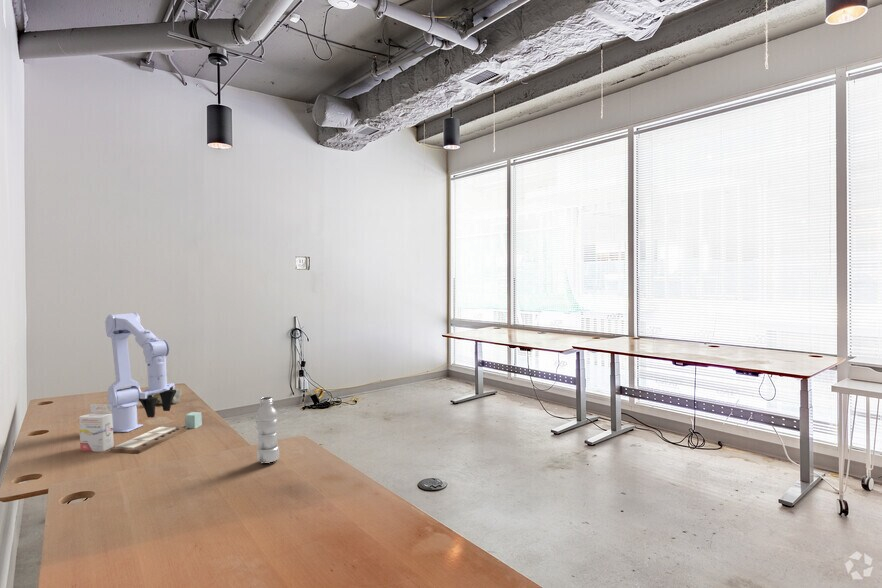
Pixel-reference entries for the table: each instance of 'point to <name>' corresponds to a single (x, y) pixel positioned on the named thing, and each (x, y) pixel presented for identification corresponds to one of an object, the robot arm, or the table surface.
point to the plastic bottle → (267, 431)
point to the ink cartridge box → (96, 429)
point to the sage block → (193, 420)
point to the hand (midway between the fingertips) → (159, 413)
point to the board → (148, 439)
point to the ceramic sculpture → (175, 398)
